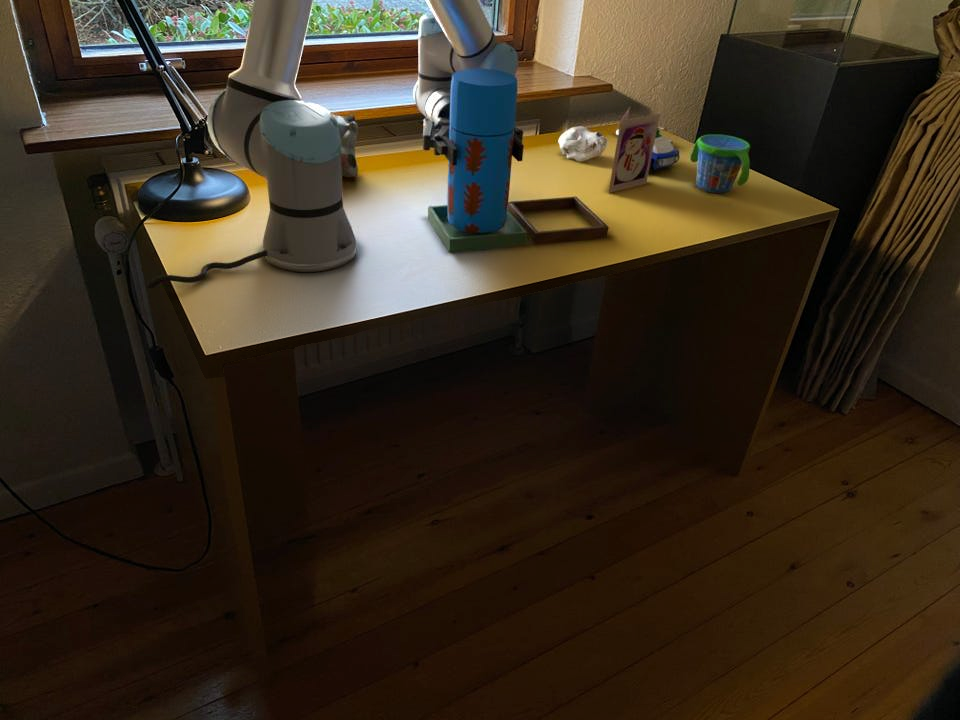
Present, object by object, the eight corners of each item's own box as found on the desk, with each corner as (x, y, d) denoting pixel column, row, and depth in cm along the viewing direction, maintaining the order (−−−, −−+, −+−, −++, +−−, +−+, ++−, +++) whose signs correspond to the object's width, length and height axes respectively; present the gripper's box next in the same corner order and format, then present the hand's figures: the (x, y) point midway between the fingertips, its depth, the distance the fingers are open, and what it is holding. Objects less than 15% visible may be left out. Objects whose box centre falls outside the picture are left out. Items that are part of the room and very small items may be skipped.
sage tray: (449, 252, 126) (449, 239, 125) (427, 218, 137) (428, 206, 136) (525, 245, 131) (527, 232, 129) (499, 213, 141) (500, 200, 140)
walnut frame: (534, 244, 131) (536, 233, 130) (507, 212, 142) (508, 201, 141) (607, 237, 135) (609, 226, 134) (574, 206, 146) (576, 196, 145)
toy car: (654, 177, 162) (663, 135, 157) (613, 161, 170) (620, 120, 164) (680, 170, 167) (689, 128, 162) (639, 154, 175) (646, 114, 169)
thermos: (500, 237, 128) (511, 89, 113) (440, 228, 129) (444, 81, 115) (510, 212, 136) (522, 72, 122) (454, 205, 138) (460, 65, 124)
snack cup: (672, 176, 164) (682, 131, 158) (712, 173, 167) (723, 128, 161) (713, 204, 152) (725, 155, 146) (755, 199, 155) (769, 152, 149)
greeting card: (611, 194, 153) (623, 122, 144) (587, 182, 158) (597, 111, 149) (649, 184, 159) (663, 114, 150) (624, 173, 163) (636, 105, 155)
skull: (569, 135, 175) (604, 110, 165) (583, 170, 175) (618, 146, 165) (546, 138, 170) (581, 112, 161) (560, 174, 170) (596, 150, 160)
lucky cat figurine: (279, 174, 150) (285, 105, 149) (327, 185, 159) (333, 120, 158) (322, 174, 141) (330, 99, 139) (371, 185, 150) (378, 116, 148)
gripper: (506, 132, 144) (550, 172, 127) (390, 138, 138) (420, 181, 121) (510, 92, 140) (555, 129, 123) (389, 97, 133) (420, 136, 116)
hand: (488, 155), depth 122 cm, fingers closed on thermos, 11 cm apart
